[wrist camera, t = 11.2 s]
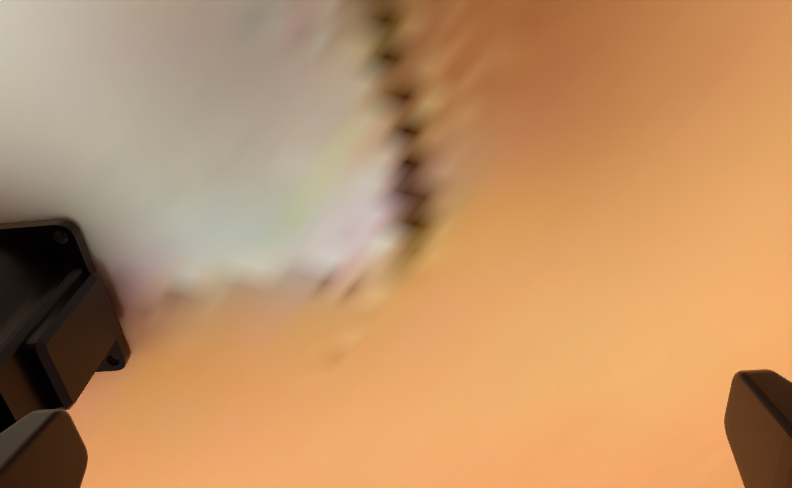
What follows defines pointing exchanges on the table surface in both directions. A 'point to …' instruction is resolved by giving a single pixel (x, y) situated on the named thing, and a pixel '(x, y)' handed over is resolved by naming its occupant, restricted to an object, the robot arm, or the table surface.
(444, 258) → the table surface
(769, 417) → the robot arm
